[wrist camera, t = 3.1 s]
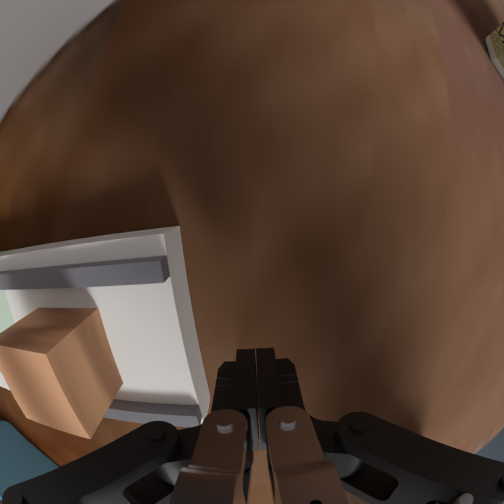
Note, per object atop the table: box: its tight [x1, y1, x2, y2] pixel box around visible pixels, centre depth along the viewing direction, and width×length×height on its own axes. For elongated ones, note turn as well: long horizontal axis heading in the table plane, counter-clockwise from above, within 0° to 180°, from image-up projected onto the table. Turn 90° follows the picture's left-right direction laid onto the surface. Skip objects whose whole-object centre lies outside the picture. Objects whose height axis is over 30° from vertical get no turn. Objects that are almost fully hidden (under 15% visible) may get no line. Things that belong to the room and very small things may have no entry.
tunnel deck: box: [0, 226, 210, 427], centre depth 15 cm, size 24×12×4 cm, turn 95°
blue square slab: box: [0, 421, 59, 500], centre depth 15 cm, size 12×4×12 cm, turn 44°
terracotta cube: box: [0, 308, 123, 439], centre depth 11 cm, size 5×5×5 cm
